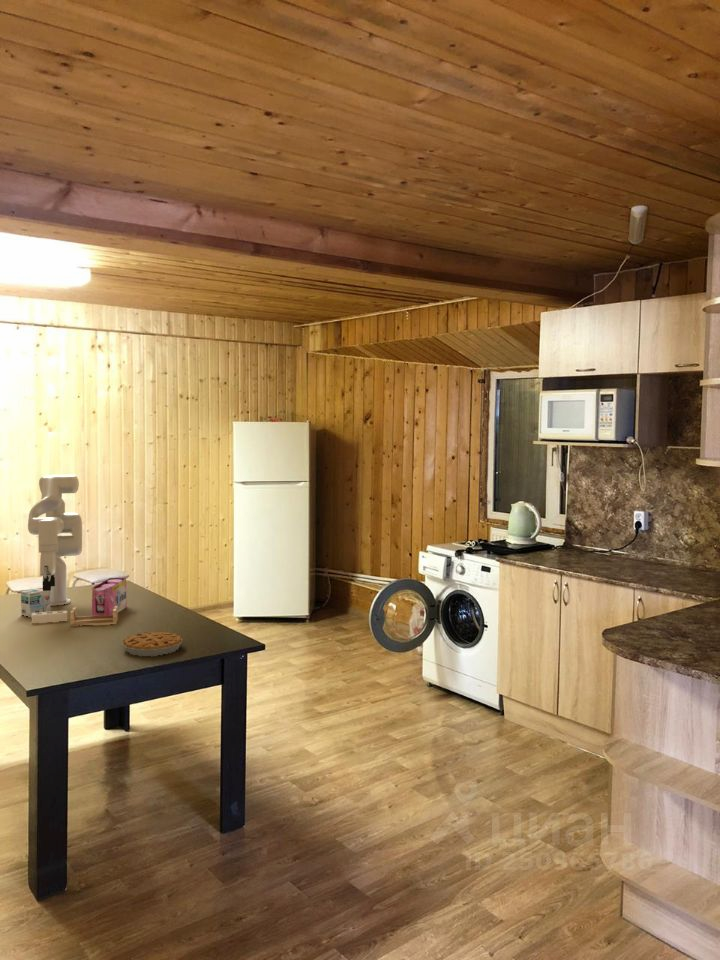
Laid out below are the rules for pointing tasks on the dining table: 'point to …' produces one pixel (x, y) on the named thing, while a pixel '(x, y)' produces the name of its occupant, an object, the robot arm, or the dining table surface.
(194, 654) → the dining table surface
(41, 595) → the light bulb box
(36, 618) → the power strip
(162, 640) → the pie
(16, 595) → the dining table surface
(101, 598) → the gum box
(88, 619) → the cradle
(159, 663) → the dining table surface
